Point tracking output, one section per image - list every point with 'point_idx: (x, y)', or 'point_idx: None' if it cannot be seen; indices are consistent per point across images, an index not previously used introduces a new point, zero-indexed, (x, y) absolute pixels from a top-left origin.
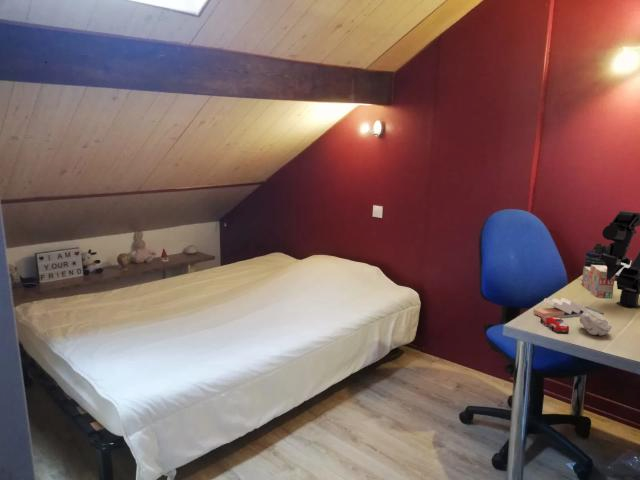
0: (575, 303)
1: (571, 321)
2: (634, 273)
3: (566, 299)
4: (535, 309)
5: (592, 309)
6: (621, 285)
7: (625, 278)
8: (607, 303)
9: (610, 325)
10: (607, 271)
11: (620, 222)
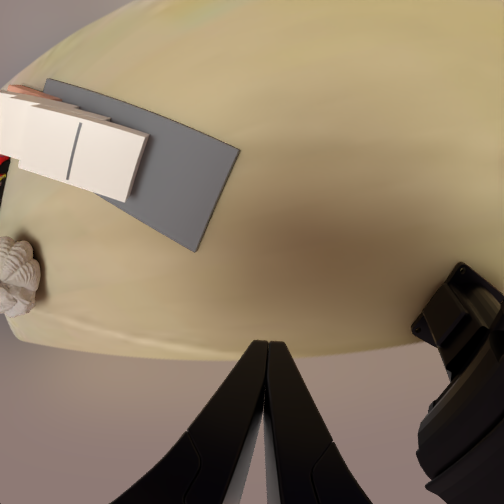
0: (39, 173)
1: (37, 190)
2: (470, 498)
3: (23, 136)
4: (9, 87)
5: (207, 191)
6: (475, 355)
7: (474, 427)
8: (435, 221)
9: (11, 316)
10: (195, 427)
11: None
